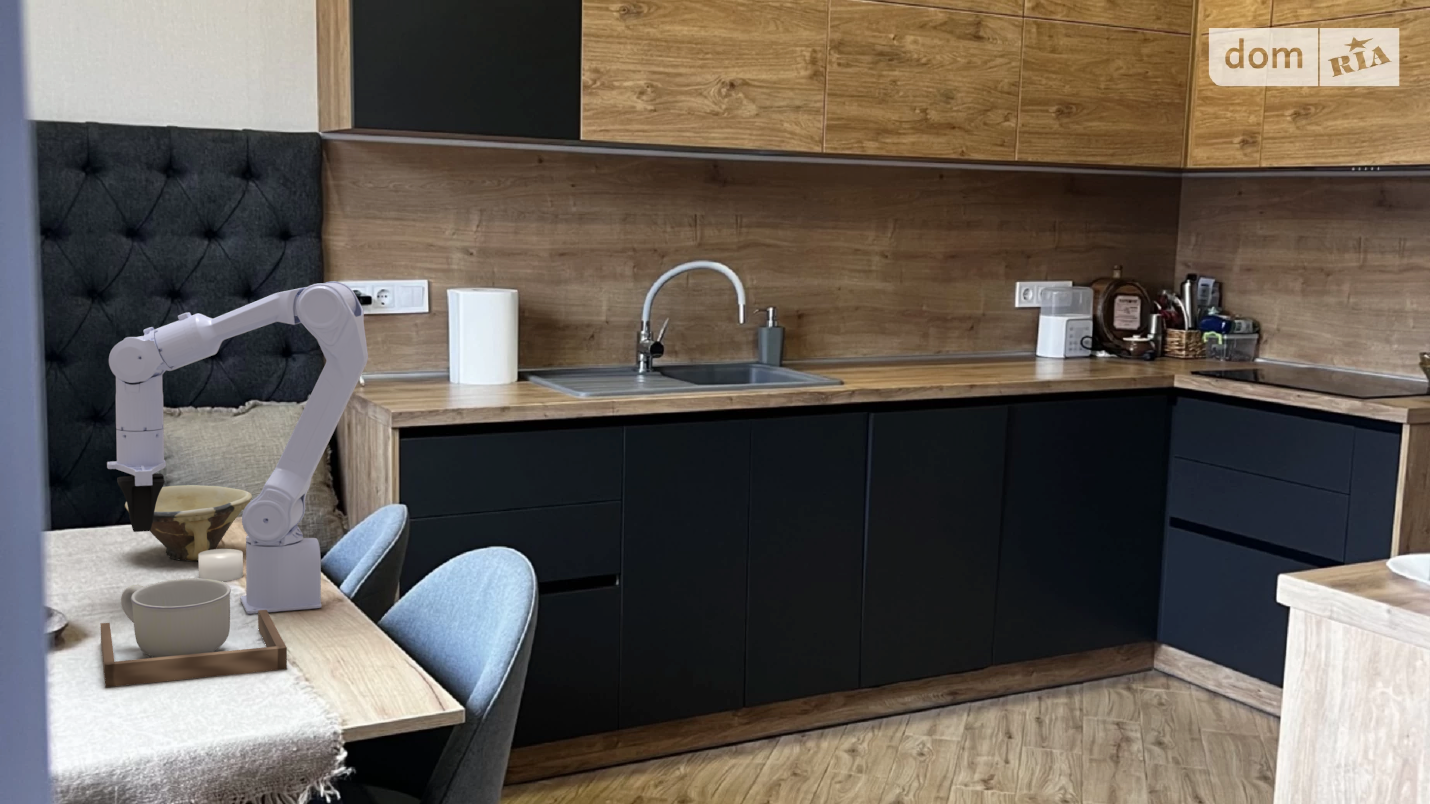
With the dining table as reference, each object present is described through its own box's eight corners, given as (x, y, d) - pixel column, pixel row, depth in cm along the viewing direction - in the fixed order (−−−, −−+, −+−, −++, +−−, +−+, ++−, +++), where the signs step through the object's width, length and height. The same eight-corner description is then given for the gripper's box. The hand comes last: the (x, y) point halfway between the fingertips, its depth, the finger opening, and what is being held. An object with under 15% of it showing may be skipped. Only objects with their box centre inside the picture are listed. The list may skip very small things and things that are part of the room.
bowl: (125, 547, 211) (124, 486, 210) (247, 540, 218) (247, 482, 217) (125, 574, 195) (124, 508, 194) (257, 566, 202) (257, 503, 201)
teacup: (250, 653, 161) (250, 587, 160) (172, 676, 152) (171, 606, 151) (174, 632, 168) (173, 569, 167) (95, 653, 159) (93, 586, 158)
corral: (266, 629, 171) (266, 609, 170) (286, 669, 155) (286, 647, 155) (100, 643, 162) (100, 623, 162) (105, 687, 147) (104, 665, 147)
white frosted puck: (240, 571, 200) (240, 547, 199) (245, 580, 194) (245, 556, 194) (196, 574, 197) (196, 550, 196) (200, 584, 192) (200, 559, 191)
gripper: (104, 421, 182) (106, 521, 184) (108, 437, 169) (110, 544, 171) (161, 420, 185) (162, 518, 187) (169, 435, 172) (170, 540, 174)
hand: (141, 530), depth 179 cm, fingers closed
